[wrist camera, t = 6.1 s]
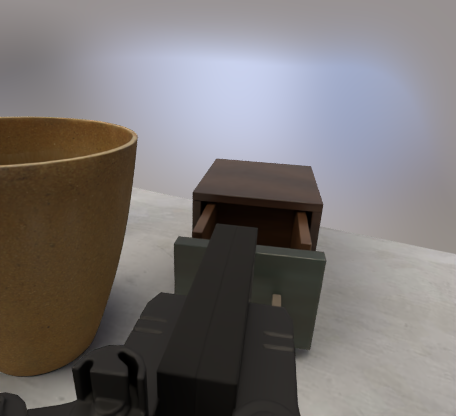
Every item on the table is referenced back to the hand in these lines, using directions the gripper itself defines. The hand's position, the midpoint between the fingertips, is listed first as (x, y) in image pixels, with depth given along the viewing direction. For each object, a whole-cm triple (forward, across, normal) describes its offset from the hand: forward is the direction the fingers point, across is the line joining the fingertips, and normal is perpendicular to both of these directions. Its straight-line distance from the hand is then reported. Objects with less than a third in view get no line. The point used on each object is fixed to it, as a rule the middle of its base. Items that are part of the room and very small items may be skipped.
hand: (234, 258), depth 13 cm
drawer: (+13, 0, -13) cm, 18 cm away
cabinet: (+24, 0, -14) cm, 27 cm away
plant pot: (+8, -15, -14) cm, 22 cm away
